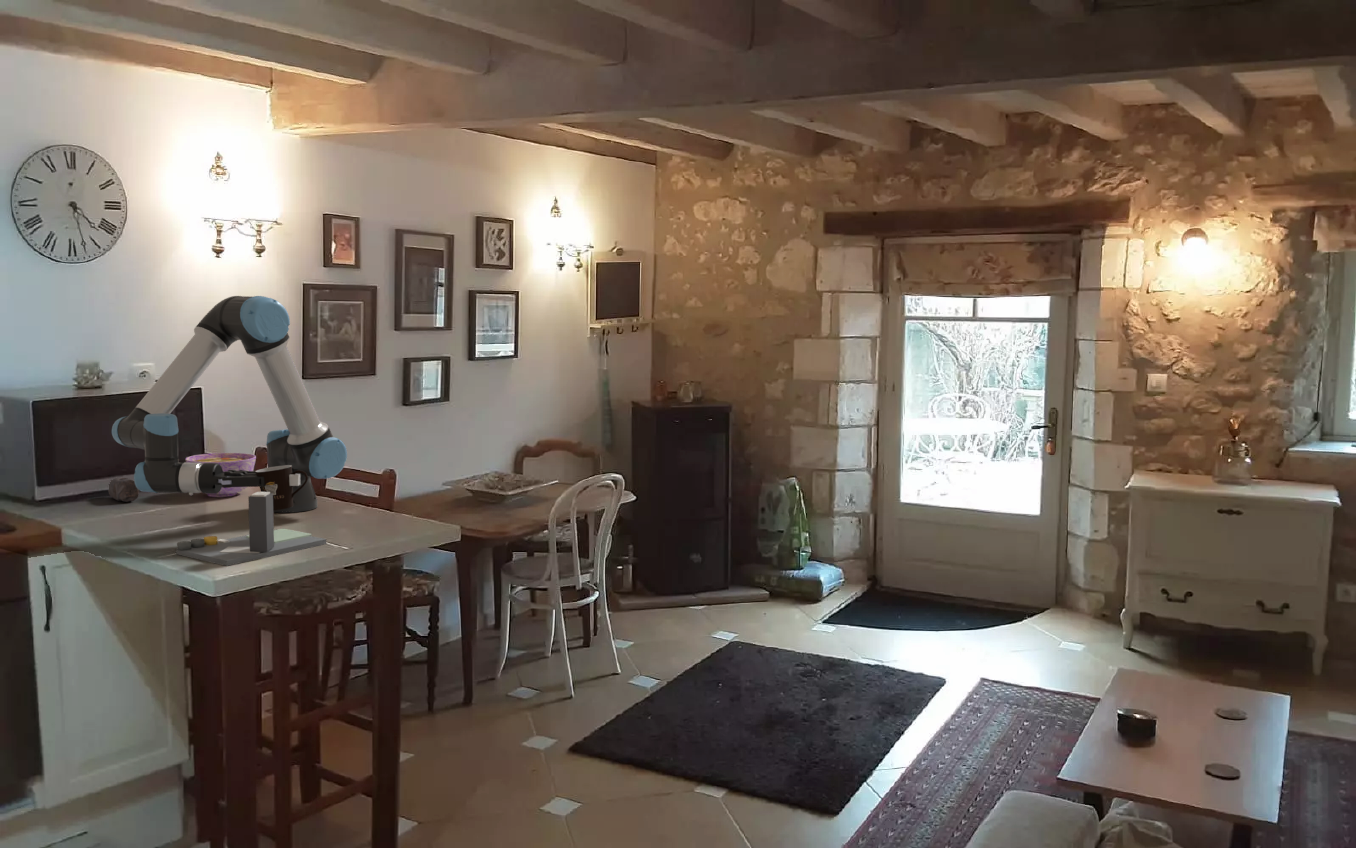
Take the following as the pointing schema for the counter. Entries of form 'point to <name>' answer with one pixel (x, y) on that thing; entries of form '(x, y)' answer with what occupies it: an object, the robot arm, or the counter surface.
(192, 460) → the bowl of food
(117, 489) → the perforated stone tool
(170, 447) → the robot arm
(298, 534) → the pad
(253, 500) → the lever
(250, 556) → the panel board
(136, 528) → the counter surface
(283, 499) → the coffee mug
